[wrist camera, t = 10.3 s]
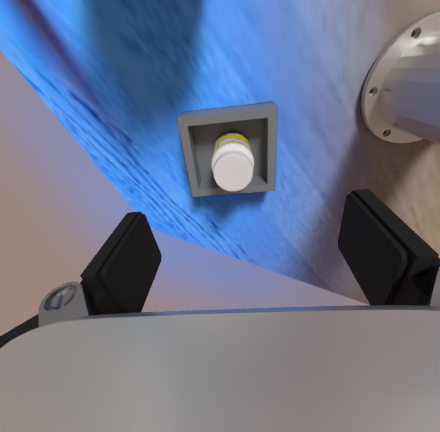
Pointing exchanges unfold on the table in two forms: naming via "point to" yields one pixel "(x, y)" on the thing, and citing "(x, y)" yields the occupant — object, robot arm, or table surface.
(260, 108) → the bin
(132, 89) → the table surface
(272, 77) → the table surface
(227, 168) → the supplement bottle
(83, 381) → the robot arm
